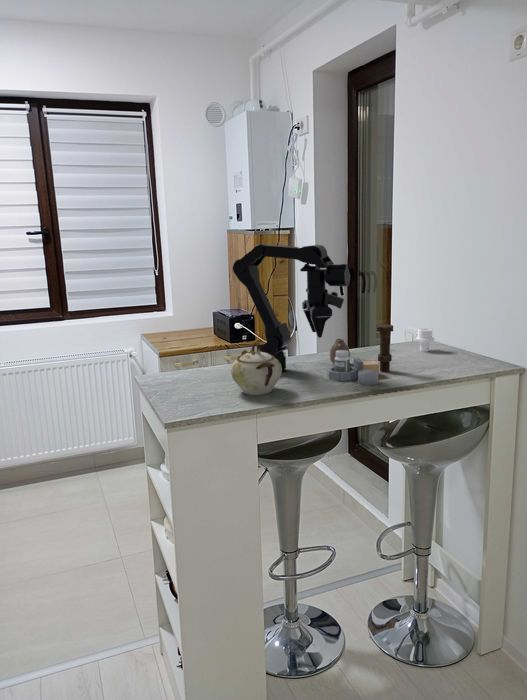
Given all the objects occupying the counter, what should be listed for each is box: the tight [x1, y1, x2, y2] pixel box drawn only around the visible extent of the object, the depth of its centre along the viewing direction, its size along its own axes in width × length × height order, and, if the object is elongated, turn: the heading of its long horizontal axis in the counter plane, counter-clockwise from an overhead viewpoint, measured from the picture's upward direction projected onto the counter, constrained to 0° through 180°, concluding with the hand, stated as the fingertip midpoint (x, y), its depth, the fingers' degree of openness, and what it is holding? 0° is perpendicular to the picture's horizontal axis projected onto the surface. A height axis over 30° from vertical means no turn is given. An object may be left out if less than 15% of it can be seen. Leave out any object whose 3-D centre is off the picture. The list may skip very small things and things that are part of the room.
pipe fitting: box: [415, 327, 435, 353], centre depth 218 cm, size 6×7×8 cm
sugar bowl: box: [230, 341, 283, 396], centre depth 173 cm, size 20×15×15 cm
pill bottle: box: [334, 350, 351, 372], centre depth 186 cm, size 5×5×8 cm
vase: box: [329, 338, 351, 366], centre depth 201 cm, size 7×7×9 cm
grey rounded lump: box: [357, 369, 379, 386], centre depth 179 cm, size 6×6×4 cm
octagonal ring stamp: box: [326, 357, 380, 382], centre depth 186 cm, size 16×9×5 cm, turn 96°
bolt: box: [376, 323, 394, 373], centre depth 190 cm, size 6×5×15 cm
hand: (316, 334), depth 188 cm, fingers open, 9 cm apart
